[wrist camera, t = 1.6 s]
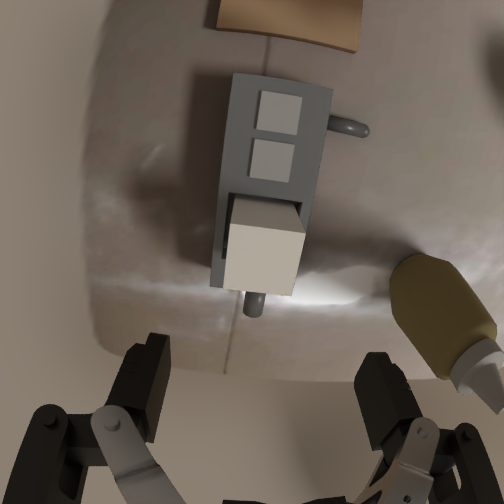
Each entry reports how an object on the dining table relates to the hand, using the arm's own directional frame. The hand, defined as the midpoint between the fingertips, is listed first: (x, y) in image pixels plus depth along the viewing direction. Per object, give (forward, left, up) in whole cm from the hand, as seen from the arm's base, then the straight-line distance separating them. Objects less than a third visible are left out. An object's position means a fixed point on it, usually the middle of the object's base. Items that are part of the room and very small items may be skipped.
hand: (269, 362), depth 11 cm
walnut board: (-21, 0, -16) cm, 27 cm away
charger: (+1, 0, -15) cm, 15 cm away
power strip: (-3, +2, -16) cm, 17 cm away
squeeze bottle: (+4, +17, -17) cm, 24 cm away
